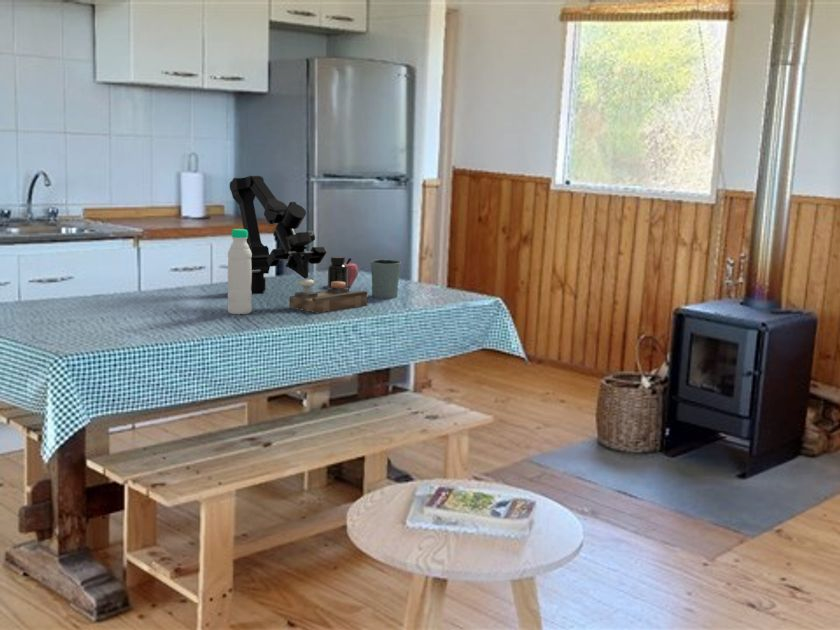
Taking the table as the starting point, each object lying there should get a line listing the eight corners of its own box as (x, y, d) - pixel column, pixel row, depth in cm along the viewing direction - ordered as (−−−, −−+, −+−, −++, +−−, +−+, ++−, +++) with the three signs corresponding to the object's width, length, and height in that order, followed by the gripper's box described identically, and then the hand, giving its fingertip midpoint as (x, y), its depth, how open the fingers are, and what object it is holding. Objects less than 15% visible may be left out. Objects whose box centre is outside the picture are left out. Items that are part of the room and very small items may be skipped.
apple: (333, 284, 355) (334, 256, 353) (357, 284, 356) (358, 257, 354) (334, 288, 345) (334, 260, 343) (358, 288, 346) (359, 260, 344)
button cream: (298, 299, 303) (298, 281, 302) (299, 297, 308) (299, 279, 306) (313, 300, 303) (313, 281, 302) (313, 297, 308) (314, 279, 307)
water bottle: (231, 315, 289) (231, 230, 285) (224, 311, 295) (224, 228, 291) (254, 314, 292) (255, 230, 288) (247, 310, 299) (247, 228, 294)
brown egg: (330, 301, 314) (331, 283, 313) (330, 298, 318) (331, 281, 317) (345, 301, 314) (345, 283, 313) (345, 299, 319) (345, 281, 318)
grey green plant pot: (394, 293, 338) (395, 259, 336) (403, 298, 329) (404, 263, 327) (366, 294, 335) (367, 259, 333) (374, 299, 326) (375, 263, 323)
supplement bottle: (348, 290, 341) (349, 256, 339) (345, 293, 335) (346, 258, 333) (329, 289, 342) (330, 255, 340) (325, 292, 335) (326, 257, 333)
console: (289, 307, 305) (289, 292, 304) (339, 300, 322) (340, 285, 321) (316, 313, 297) (316, 298, 296) (366, 305, 314) (367, 290, 313)
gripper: (271, 222, 300) (289, 263, 293) (323, 221, 311) (342, 260, 304) (259, 245, 307) (276, 285, 301) (310, 243, 319) (328, 281, 312)
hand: (306, 277), depth 304 cm, fingers closed
